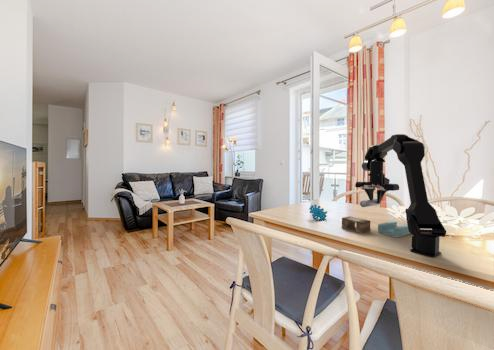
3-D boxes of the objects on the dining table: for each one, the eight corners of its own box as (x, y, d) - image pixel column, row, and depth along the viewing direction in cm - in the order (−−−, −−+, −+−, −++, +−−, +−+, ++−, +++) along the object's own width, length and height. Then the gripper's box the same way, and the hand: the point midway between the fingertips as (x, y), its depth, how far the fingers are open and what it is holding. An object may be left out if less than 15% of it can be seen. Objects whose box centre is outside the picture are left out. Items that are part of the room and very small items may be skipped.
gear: (313, 218, 116) (308, 202, 123) (308, 224, 121) (303, 209, 127) (331, 220, 120) (325, 204, 126) (325, 225, 124) (319, 210, 130)
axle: (374, 204, 113) (374, 198, 113) (380, 205, 110) (380, 199, 110) (360, 206, 107) (359, 200, 107) (366, 207, 104) (365, 201, 104)
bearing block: (370, 230, 100) (370, 220, 100) (362, 233, 97) (362, 222, 97) (349, 225, 109) (349, 216, 109) (341, 227, 106) (341, 217, 106)
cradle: (412, 232, 97) (412, 225, 97) (397, 237, 91) (398, 228, 91) (392, 228, 104) (392, 221, 104) (377, 232, 98) (378, 224, 98)
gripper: (405, 172, 106) (404, 204, 106) (367, 171, 122) (366, 199, 122) (393, 172, 100) (392, 206, 101) (354, 171, 116) (354, 201, 117)
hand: (375, 203), depth 110 cm, fingers closed on axle, 3 cm apart
